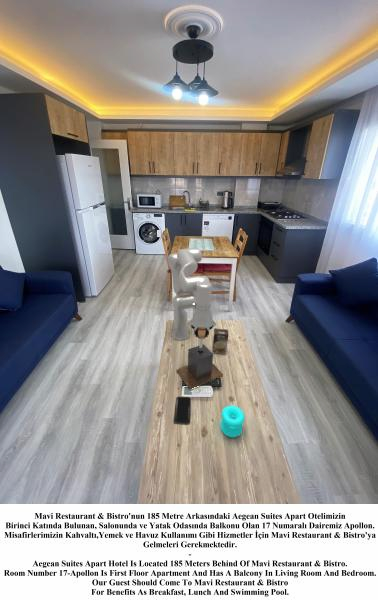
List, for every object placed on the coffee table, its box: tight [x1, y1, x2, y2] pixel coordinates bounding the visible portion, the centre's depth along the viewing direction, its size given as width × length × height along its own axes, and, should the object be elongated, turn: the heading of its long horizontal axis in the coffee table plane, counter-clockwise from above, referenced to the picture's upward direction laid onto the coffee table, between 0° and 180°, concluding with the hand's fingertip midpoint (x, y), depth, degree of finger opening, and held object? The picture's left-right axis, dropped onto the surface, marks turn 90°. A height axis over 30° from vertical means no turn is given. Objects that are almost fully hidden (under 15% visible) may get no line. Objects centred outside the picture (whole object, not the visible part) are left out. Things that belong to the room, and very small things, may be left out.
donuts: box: [219, 405, 246, 438], centre depth 109 cm, size 10×10×10 cm
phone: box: [173, 396, 192, 425], centre depth 119 cm, size 8×1×15 cm
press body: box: [175, 343, 224, 390], centre depth 137 cm, size 16×22×16 cm
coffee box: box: [211, 327, 229, 356], centre depth 156 cm, size 9×6×16 cm
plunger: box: [196, 327, 207, 354], centre depth 131 cm, size 8×8×21 cm
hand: (201, 335), depth 129 cm, fingers closed on plunger, 5 cm apart
